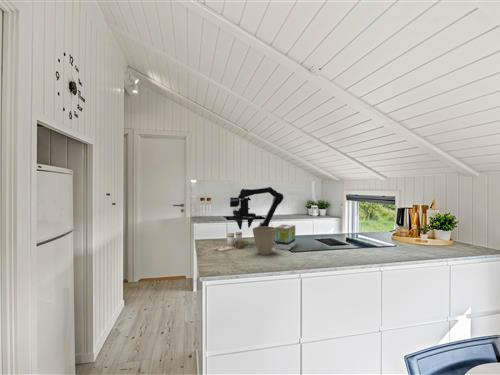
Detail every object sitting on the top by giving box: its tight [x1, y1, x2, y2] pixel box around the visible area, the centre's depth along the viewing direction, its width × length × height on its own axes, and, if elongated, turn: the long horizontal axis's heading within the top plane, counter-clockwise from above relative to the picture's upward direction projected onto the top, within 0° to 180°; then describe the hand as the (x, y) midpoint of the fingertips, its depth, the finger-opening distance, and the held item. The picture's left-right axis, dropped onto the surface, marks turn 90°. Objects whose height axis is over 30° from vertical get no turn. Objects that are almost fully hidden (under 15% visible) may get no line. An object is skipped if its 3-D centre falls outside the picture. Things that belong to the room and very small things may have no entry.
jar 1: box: [226, 234, 235, 247], centre depth 201 cm, size 5×5×8 cm
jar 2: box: [235, 231, 243, 241], centre depth 209 cm, size 5×5×8 cm
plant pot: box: [252, 226, 276, 256], centre depth 181 cm, size 15×15×16 cm
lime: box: [242, 238, 249, 246], centre depth 204 cm, size 4×4×4 cm
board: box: [211, 245, 236, 253], centre depth 193 cm, size 10×12×1 cm
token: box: [234, 239, 246, 250], centre depth 195 cm, size 4×4×5 cm
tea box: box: [274, 224, 296, 251], centre depth 197 cm, size 15×10×15 cm, turn 154°
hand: (244, 228), depth 204 cm, fingers open, 9 cm apart
